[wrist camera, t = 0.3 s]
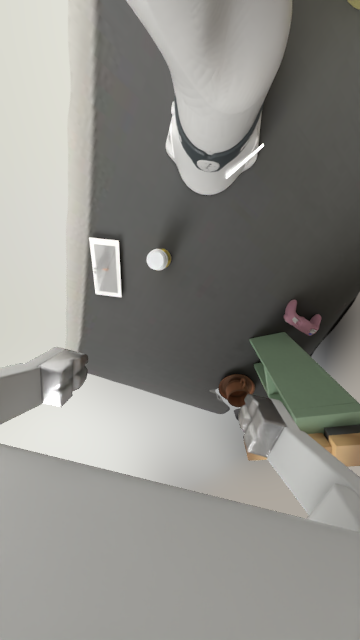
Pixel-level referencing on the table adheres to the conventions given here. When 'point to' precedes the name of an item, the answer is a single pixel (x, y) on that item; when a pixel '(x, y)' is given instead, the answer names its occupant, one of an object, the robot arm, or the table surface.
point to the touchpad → (106, 266)
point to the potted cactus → (355, 3)
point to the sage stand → (302, 385)
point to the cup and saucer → (236, 389)
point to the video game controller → (301, 319)
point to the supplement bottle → (158, 259)
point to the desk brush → (335, 444)
